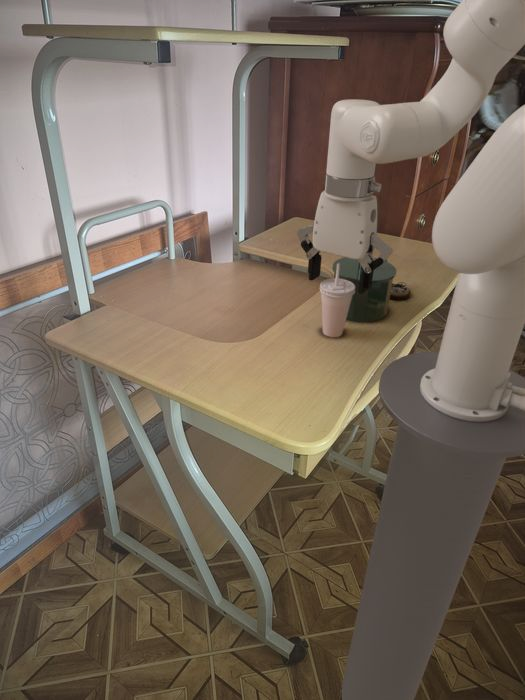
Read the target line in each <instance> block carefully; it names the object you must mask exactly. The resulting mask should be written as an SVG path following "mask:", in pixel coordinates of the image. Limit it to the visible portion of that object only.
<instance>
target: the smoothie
mask: <svg viewBox="0 0 525 700" xmlns="http://www.w3.org/2000/svg"><path fill="white" fill-rule="evenodd" d="M339 272H340V263H337V270H336V278H334V277H332V278H326V279H324V280H322V281H320V283H319V292H320V297H321V298H320V300H321V319H322V321H321V323H322V324H321V325H322V333H323V335H325V336H327V337H329V338H338V337H341V336H342V335H343V332H344V328H345V325H346V321H347V319H346V318H347V314H348V310H349V307H350V303H351V299H352V295H354V293H355V285H354V284H353V283H352V282H350V281H348V280H344V279H339Z"/></svg>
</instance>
